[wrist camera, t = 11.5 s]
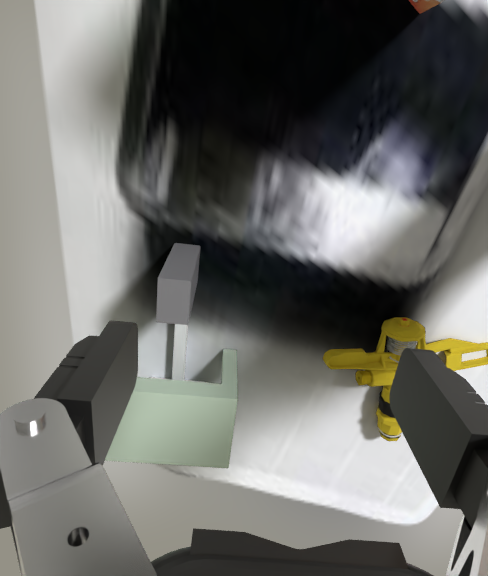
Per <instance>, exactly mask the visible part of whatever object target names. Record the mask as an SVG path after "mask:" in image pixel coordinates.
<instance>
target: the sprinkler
mask: <svg viewBox="0 0 488 576" xmlns="http://www.w3.org/2000/svg"><path fill="white" fill-rule="evenodd" d="M381 330H382V333H381V336H380V339H379V342H378V345H377V348H376V351H375V352H373V353H366V352H365V351H364V350H363V349H362V348H359V349H330V350H328V351H327V352H325V354H324V357H323V361H324V362H325V364H326V365H327V366H328V367H329V368H330V369H366V370H365V371H363V370H358V371H357V372H356V381H357V383H358V385H365V384H367V385H368V386H371V387H373V386H383V390H382V391H381V393H380V397H379V407H378V409H377V412H376V414H377V416H378V425H377V426H378V427H379V432H380V435H381V437H382V438H384V439H386V440H387V441H397V440H398V439H399V437H400V436H401V433H402V431H401V429H400V427H399V425H398V423H397V421H396V419H395V417H394V415H393V413H392V410H391V407H390V400H389V396H390V389H391V386H392V383H393V379H394V376H395V373H396V369H397V366H398V363H399V360H400V356H401V354H402V352H403V350H404V349H406V348H409V347H412V348H413V349H424V350H432V351H434V352H435V353H436V352H440V351H443V350H444V353H445V355H446V367H447V368H450V369H452V370H453V371H456V370H461V369H466V368H471V367H476V366H481V365H487V364H488V342H486V343H480V344H477V343H472V342H467V341H462V340H457V339H452V338H449V339H445V340H440V341H436V342H432V343H428V344H426V342H425V327H423V326H422V325H421V324H420V323H418V322H417V321H414V320H411V319H409V318H405V317H402V318H400V317H395V318H392V319H389V320H386V321H384V322H383V324H382V328H381ZM386 335H387V336H388V338H387V345H386V346H387V349H386V351H387V352H384V349H385V342H386ZM392 341H393V342H394V343H393V342H392ZM409 341H410V342H409ZM416 341H417V345H416ZM408 343H409V344H408ZM391 345H392V346H394V347H395V348H394V347H392V346H391ZM408 345H409V346H408ZM390 347H391V348H390ZM389 348H390V349H389ZM392 348H393V349H394V350H393V349H392ZM388 350H389V351H390V352H388ZM391 350H392V351H391ZM481 350H486V352H487V357H483V358H479V359H474V360H469V361H464V362H461V360H462V354H464V353H470V352H475V351H481ZM393 351H394V352H393Z"/></svg>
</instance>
